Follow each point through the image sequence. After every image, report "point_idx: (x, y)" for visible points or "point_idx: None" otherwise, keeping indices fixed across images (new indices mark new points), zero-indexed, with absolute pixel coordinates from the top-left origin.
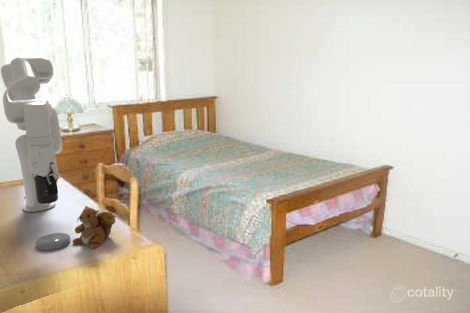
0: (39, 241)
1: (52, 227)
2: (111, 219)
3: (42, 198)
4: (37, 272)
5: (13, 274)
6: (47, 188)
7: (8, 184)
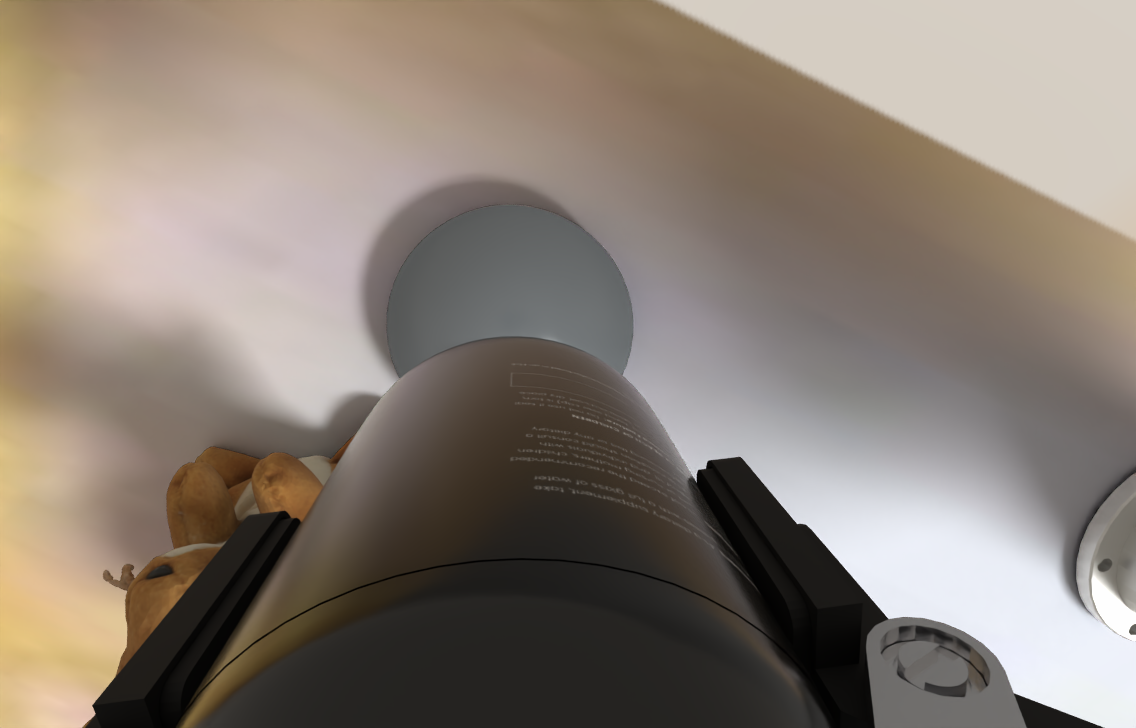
0: (564, 248)
1: (774, 443)
2: None
3: (386, 401)
4: (127, 12)
5: None
6: (216, 603)
7: None
